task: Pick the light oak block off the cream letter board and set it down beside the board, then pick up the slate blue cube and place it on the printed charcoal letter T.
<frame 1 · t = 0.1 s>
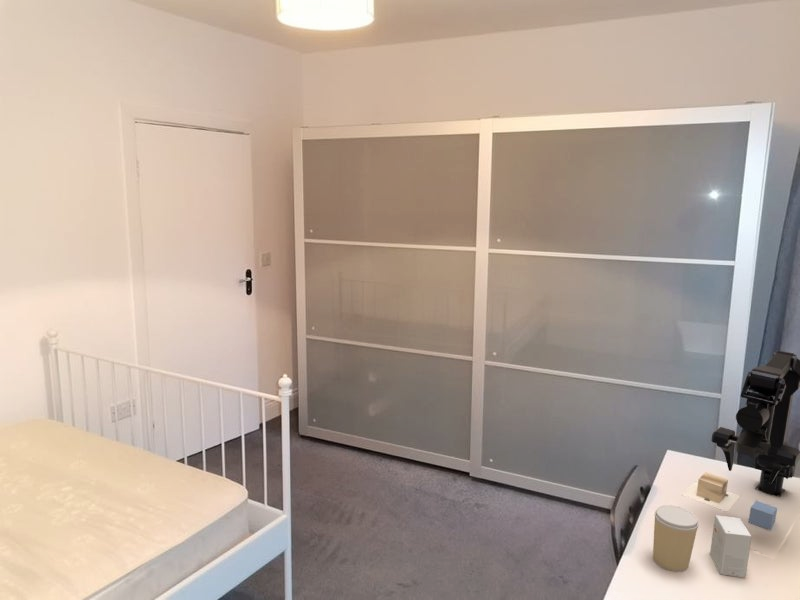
hand: (749, 476, 155), 15 cm above the table, tool pointing down, fingers open, 9 cm apart
small box: (726, 566, 142), on the table
light oak block: (710, 495, 173), point 1 cm above the table, touching letter board
coffee cup: (670, 562, 143), on the table
slate blue cube: (761, 524, 160), on the table
letter board: (710, 497, 173), on the table
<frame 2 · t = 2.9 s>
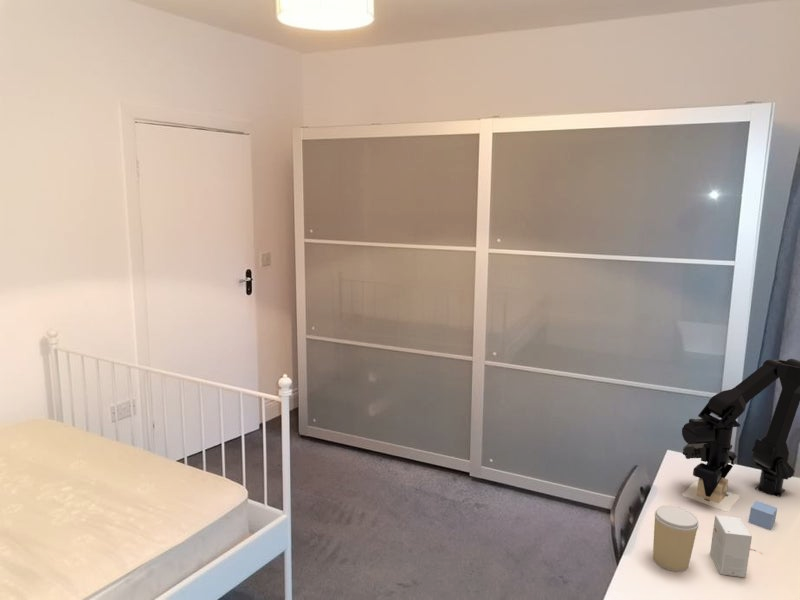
hand: (711, 492, 172), 2 cm above the table, tool pointing down, fingers closed on light oak block, 6 cm apart
light oak block: (710, 495, 173), point 1 cm above the table, touching gripper, letter board
everything else where it was.
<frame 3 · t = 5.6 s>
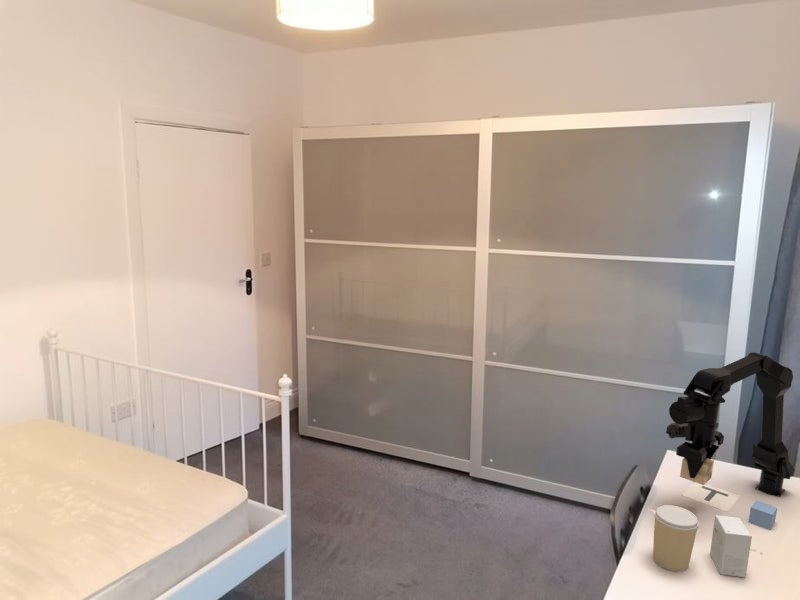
hand: (696, 474, 162), 11 cm above the table, tool pointing down, fingers closed on light oak block, 6 cm apart
light oak block: (695, 477, 162), point 10 cm above the table, touching gripper
everything else where it was.
when the fingers open (3 cm above the table, at t = 8.1 s): light oak block drops 2 cm, on the table.
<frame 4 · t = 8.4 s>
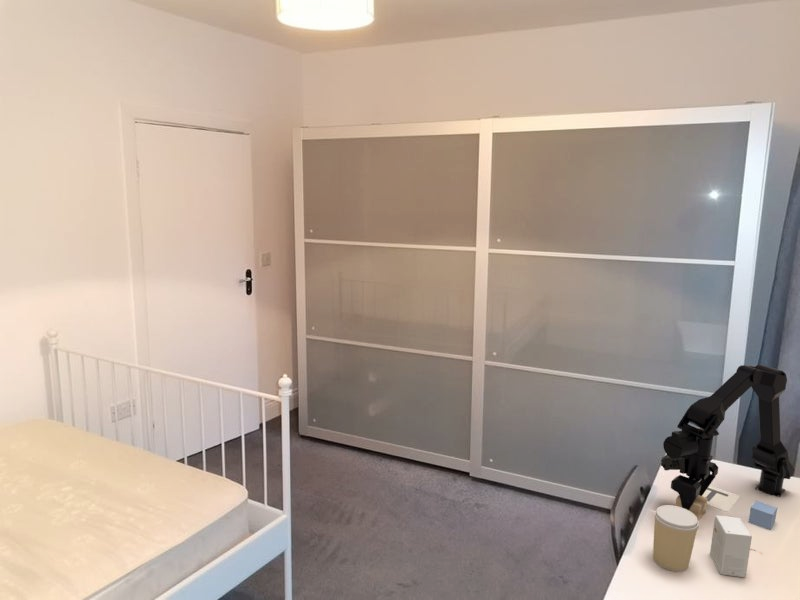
hand: (691, 505, 163), 3 cm above the table, tool pointing down, fingers open, 9 cm apart
light oak block: (689, 514, 164), on the table
everything else where it was.
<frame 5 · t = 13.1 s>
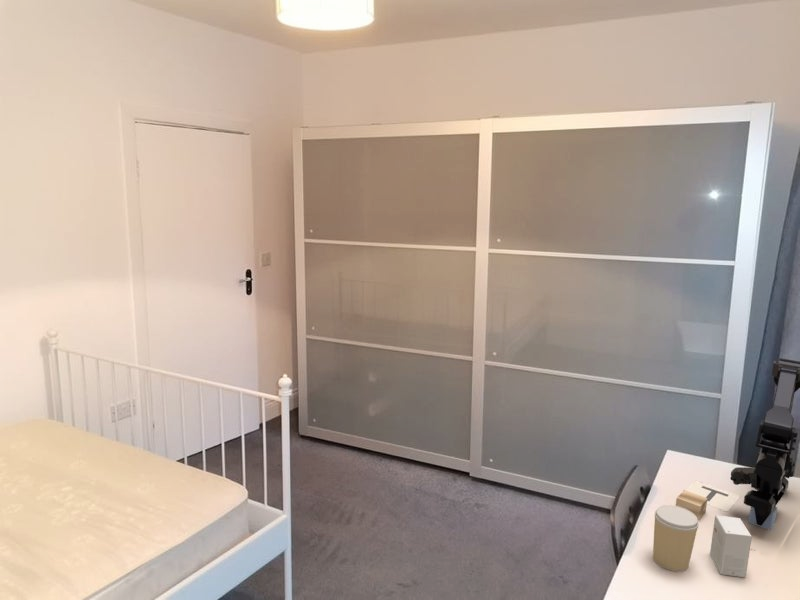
hand: (761, 520, 160), 1 cm above the table, tool pointing down, fingers closed on slate blue cube, 5 cm apart
slate blue cube: (761, 524, 160), on the table, touching gripper
everything else where it was.
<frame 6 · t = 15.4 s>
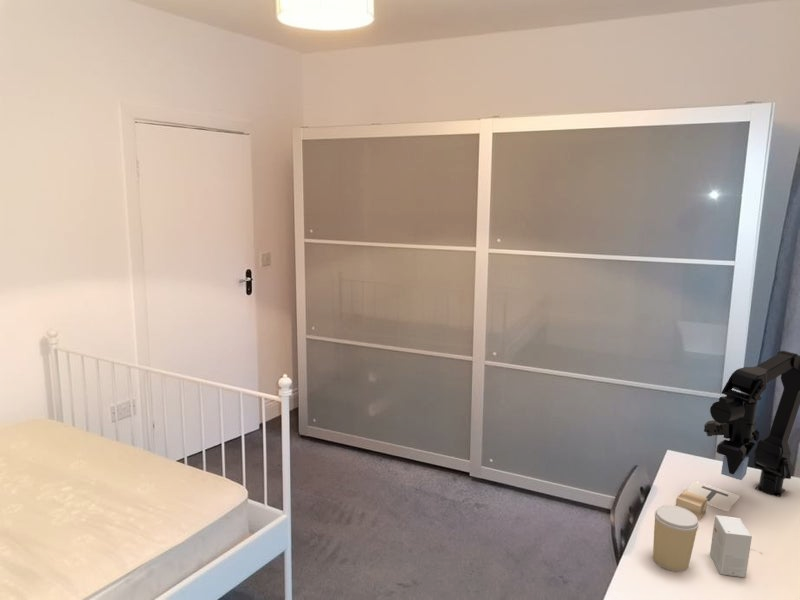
hand: (734, 470, 166), 11 cm above the table, tool pointing down, fingers closed on slate blue cube, 5 cm apart
slate blue cube: (733, 474, 166), point 10 cm above the table, touching gripper
everything else where it was.
when the fingers open (3 cm above the table, at t = 18.1 s): slate blue cube drops 1 cm, resting on letter board.
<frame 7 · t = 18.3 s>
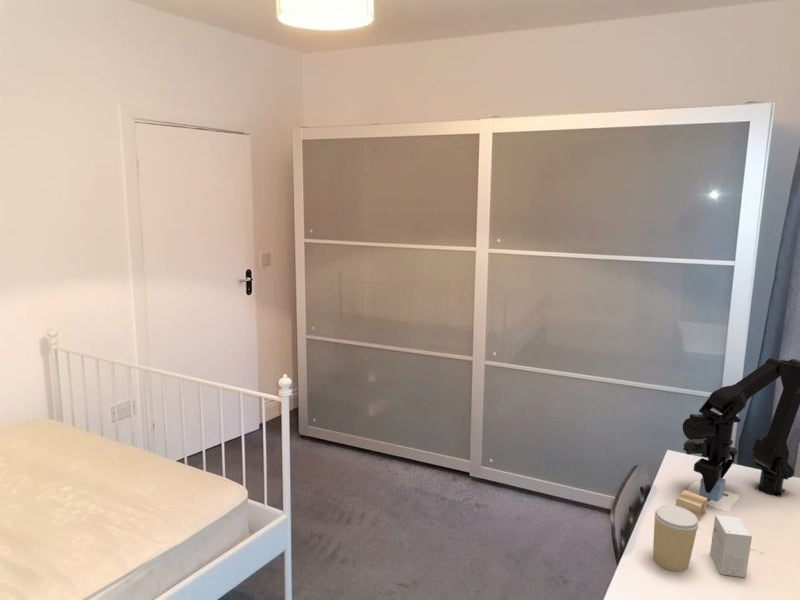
hand: (712, 487, 172), 3 cm above the table, tool pointing down, fingers open, 7 cm apart
slate blue cube: (711, 495, 173), point 1 cm above the table, touching letter board
everything else where it was.
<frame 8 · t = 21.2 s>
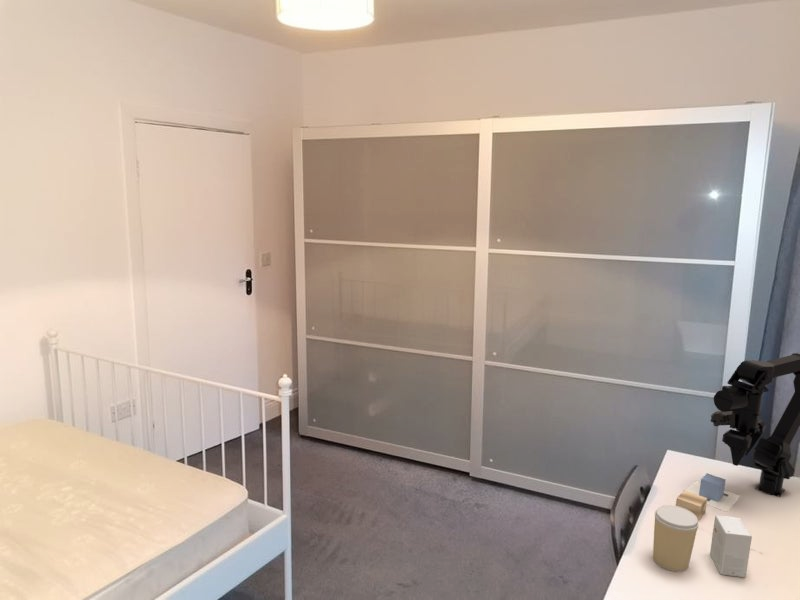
hand: (740, 459, 170), 12 cm above the table, tool pointing down, fingers open, 9 cm apart
nothing on the table moved.
at the end: slate blue cube 0.0 cm from the letter board (horizontally); slate blue cube touching letter board; light oak block touching table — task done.
